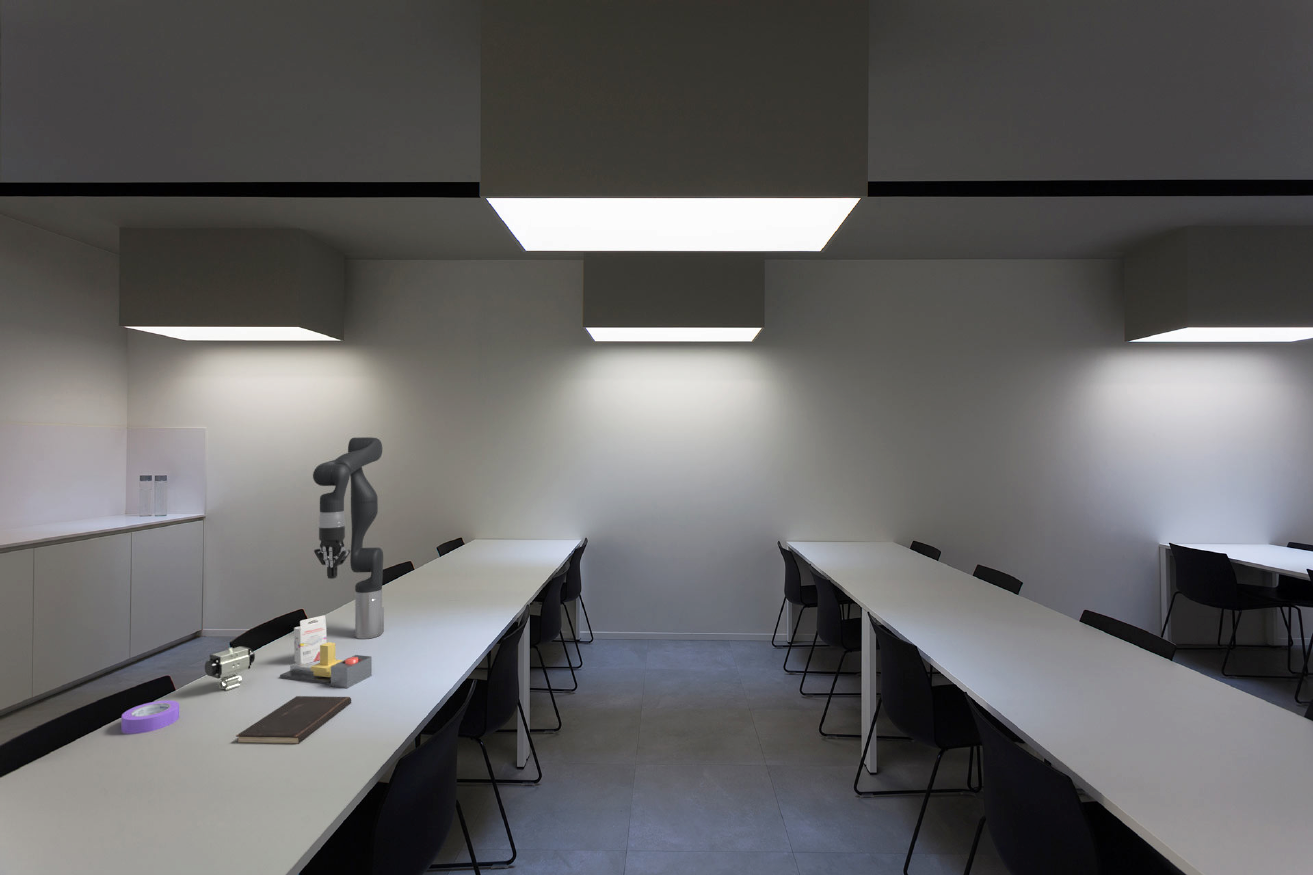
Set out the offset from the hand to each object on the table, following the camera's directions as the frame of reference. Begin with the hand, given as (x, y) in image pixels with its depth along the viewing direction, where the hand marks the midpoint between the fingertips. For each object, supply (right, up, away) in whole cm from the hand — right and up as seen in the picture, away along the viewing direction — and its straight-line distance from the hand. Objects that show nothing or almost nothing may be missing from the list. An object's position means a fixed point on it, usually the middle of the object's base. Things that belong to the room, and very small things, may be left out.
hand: (332, 578), depth 199 cm
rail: (-1, -29, -8) cm, 30 cm away
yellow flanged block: (+4, -27, -9) cm, 29 cm away
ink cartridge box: (-11, -29, +6) cm, 32 cm away
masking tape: (-27, -29, -39) cm, 56 cm away
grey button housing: (+12, -29, -12) cm, 34 cm away
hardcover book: (+12, -30, -39) cm, 50 cm away
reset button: (+12, -27, -12) cm, 32 cm away
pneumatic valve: (-21, -29, -17) cm, 40 cm away
